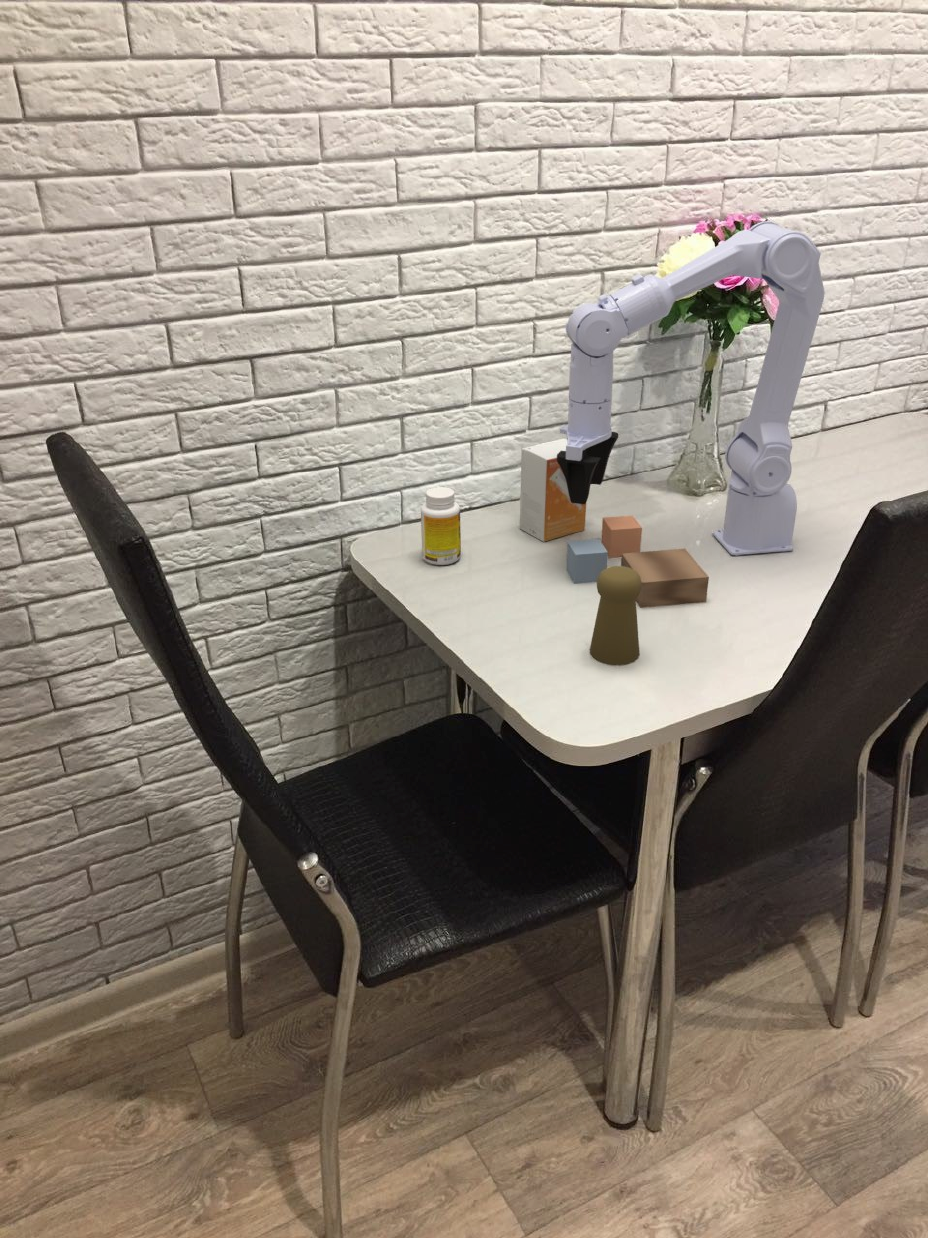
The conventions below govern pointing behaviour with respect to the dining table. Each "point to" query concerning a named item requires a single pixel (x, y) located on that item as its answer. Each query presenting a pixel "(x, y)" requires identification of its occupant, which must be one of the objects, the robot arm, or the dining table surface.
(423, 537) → the supplement bottle
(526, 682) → the dining table surface
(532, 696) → the dining table surface
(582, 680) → the dining table surface
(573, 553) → the slate-blue cube
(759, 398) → the robot arm
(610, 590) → the olive game pawn
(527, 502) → the small box
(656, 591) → the walnut block
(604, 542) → the terracotta cube
